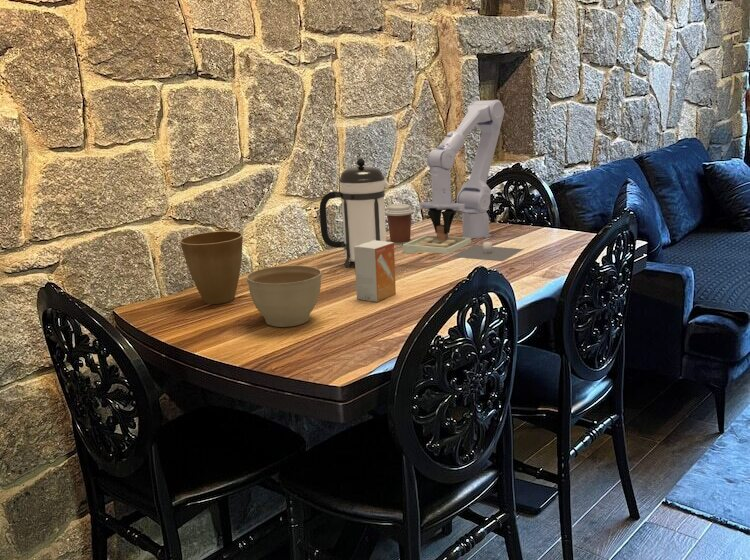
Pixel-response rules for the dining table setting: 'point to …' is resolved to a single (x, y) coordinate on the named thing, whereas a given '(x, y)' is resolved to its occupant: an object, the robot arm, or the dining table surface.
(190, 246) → the plant pot
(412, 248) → the sage tray
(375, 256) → the small box
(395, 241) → the coffee cup
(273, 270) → the planter bowl
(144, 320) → the dining table surface
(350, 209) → the coffee press
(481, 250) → the stake board
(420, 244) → the tan square frame
